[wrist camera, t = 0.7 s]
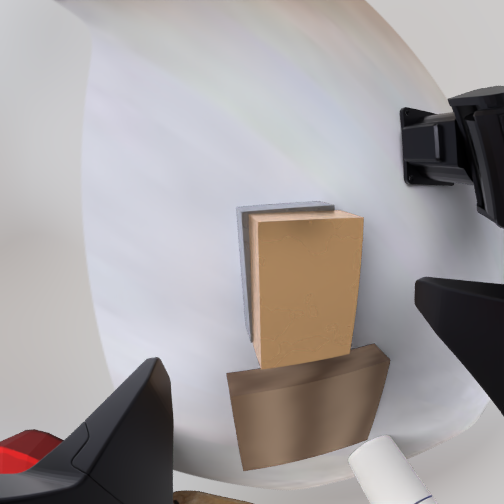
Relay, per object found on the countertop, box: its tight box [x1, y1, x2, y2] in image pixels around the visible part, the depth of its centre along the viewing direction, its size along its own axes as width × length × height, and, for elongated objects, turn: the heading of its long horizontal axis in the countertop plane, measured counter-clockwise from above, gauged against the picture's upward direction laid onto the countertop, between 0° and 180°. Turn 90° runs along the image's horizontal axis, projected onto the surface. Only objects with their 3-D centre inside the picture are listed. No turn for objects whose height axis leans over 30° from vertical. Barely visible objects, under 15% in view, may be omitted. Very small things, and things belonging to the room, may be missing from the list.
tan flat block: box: [248, 210, 364, 370], centre depth 17 cm, size 6×9×3 cm, turn 2°
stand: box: [227, 344, 390, 471], centre depth 24 cm, size 14×12×3 cm
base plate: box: [236, 201, 335, 342], centre depth 20 cm, size 6×9×3 cm, turn 4°
